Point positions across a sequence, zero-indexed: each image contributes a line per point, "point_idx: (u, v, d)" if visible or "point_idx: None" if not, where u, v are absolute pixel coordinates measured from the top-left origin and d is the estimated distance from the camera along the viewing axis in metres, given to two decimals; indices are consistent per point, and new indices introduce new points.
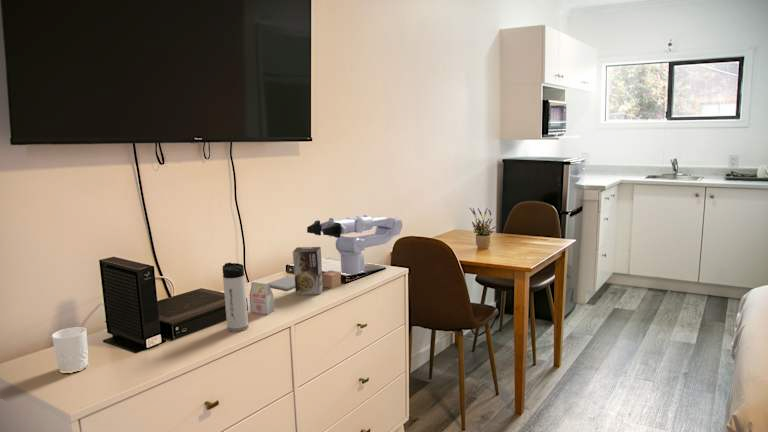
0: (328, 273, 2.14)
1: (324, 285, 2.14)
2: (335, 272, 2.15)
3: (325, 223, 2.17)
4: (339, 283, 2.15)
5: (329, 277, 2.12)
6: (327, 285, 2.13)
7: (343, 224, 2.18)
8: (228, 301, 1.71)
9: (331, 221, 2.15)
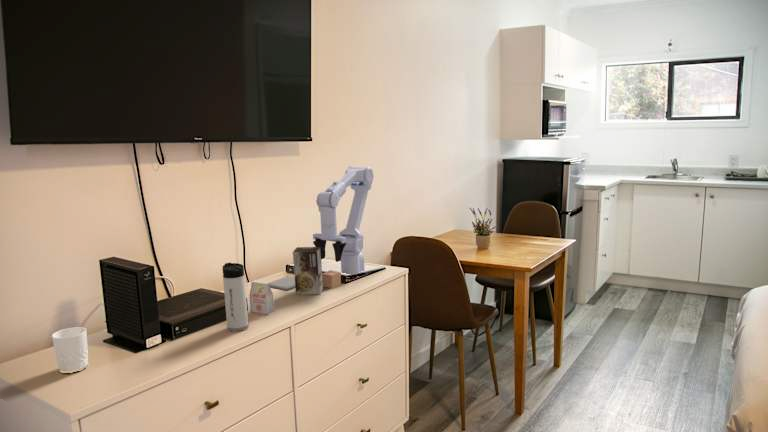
0: (328, 273, 2.14)
1: (324, 285, 2.14)
2: (335, 272, 2.15)
3: None
4: (339, 283, 2.15)
5: (329, 277, 2.12)
6: (327, 285, 2.13)
7: (331, 227, 2.09)
8: (228, 301, 1.71)
9: None
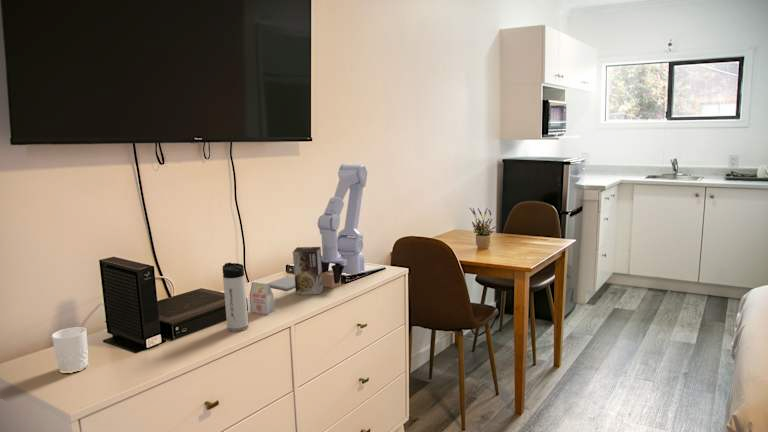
0: (328, 273, 2.14)
1: (324, 285, 2.14)
2: None
3: None
4: (339, 283, 2.15)
5: (329, 277, 2.12)
6: (327, 285, 2.13)
7: (332, 249, 2.10)
8: (228, 301, 1.71)
9: (326, 261, 2.11)
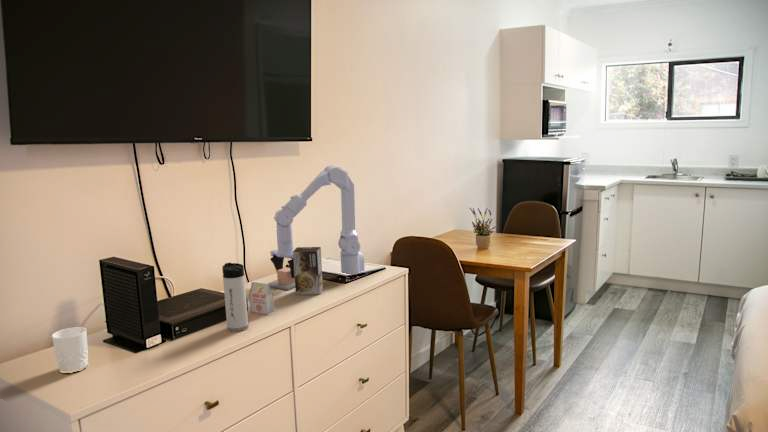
0: (283, 270, 2.17)
1: (279, 282, 2.17)
2: None
3: None
4: (294, 280, 2.19)
5: (284, 274, 2.15)
6: (282, 282, 2.17)
7: (287, 244, 2.14)
8: (228, 301, 1.71)
9: None
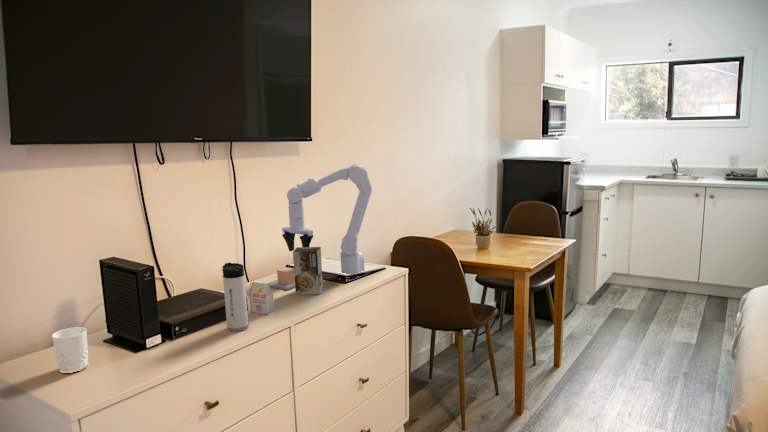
0: (283, 270, 2.17)
1: (279, 282, 2.17)
2: (290, 269, 2.18)
3: None
4: (294, 280, 2.19)
5: (284, 274, 2.15)
6: (282, 282, 2.17)
7: (298, 220, 2.21)
8: (228, 301, 1.71)
9: (293, 232, 2.22)
